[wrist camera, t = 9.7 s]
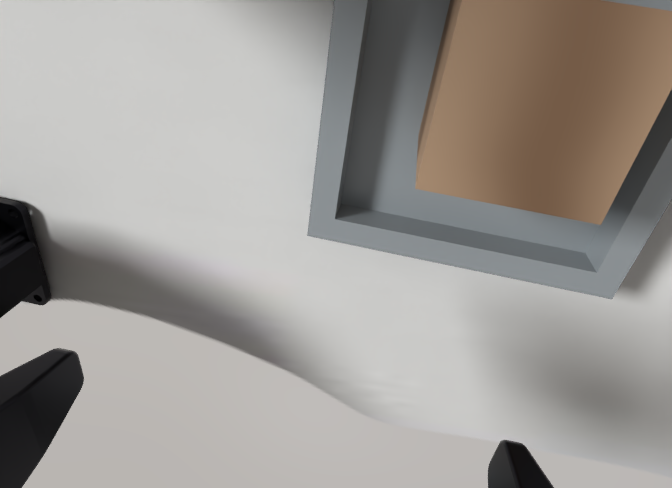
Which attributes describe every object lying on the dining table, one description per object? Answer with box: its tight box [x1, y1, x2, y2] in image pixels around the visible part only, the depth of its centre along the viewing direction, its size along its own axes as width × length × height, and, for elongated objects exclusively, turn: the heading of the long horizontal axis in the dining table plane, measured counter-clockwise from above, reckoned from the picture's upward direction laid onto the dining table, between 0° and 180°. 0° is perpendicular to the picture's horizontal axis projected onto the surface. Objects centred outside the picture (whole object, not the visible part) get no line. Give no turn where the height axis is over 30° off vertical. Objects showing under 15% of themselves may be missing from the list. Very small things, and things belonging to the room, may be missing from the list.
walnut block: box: [415, 0, 672, 225], centre depth 13 cm, size 5×5×5 cm
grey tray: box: [307, 0, 672, 299], centre depth 15 cm, size 12×14×2 cm
